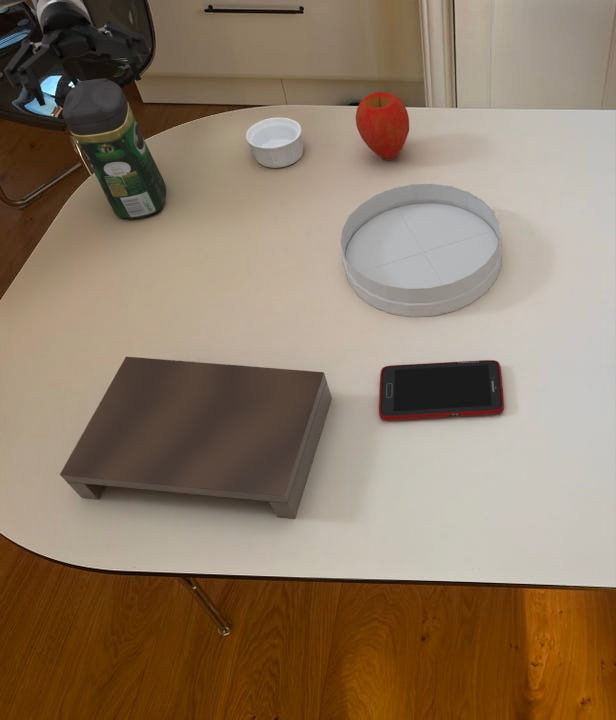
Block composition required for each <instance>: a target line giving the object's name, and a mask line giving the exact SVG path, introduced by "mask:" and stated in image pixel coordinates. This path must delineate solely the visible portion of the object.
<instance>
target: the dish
mask: <svg viewBox="0 0 616 720" xmlns="http://www.w3.org/2000/svg"><path fill="white" fill-rule="evenodd" d="M500 229H501V228H500V222H499V220H498V218H497V216H496V214H495V211H494V210H493V209H492V208H491V207H490V205H488V204H487V203H486V202H485V200H483V199H482V198H480V197H478V196H476V195H475V194H473V193H472V192H470V191H468V190H464V189H461V188H458V187H455V186H452V185H444V184H437V183H418V184H417V183H415V184H414V183H413V184H408V185H403V186H398V187H393V188H390V189H388V190H386V191H383V192H380V193H377V194H376V195H374V196H372V197H370V198H369V199H367V200H365V201H364V202H362V203H361V204H360V205H358V207H357V208H355V210H354V211H352V213H350V214H349V216H348V218H347V220H346V221H345V224H344V225H343V227H342V230H341V238H340V245H341V249H342V253H343V254H342V261H343V262H342V263H343V265H344V269H345V272H346V276H347V280H348V284H349V285H350V287H351V288H352V290H353V291H354V292H355V294H356V295H357V296H358V297H359V298H360V299H362V300H363V301H364V302H366V303H367V304H368V305H370V306H371V307H373V308H375V309H378V310H380V311H383V312H385V313H388V314H391V315H397V316H404V317H410V318H415V317H417V318H418V317H419V318H420V317H423V318H424V317H436V316H440V315H444V314H450V313H453V312H455V311H458V310H460V309H463V308H464V307H466V306H469V305H471V304H473V303H474V302H476V301H477V300H479V298H481V297H482V296H484V295H485V294H487V292H488V291H489V290H490V288H491V287H492V286H493V284H494V283H495V282H496V280H497V279H498V276H499V273H500V270H501V267H502V254H503V253H502V252H503V251H502V238H501V231H500Z"/></svg>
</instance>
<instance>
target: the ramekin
mask: <svg viewBox="0 0 616 720" xmlns="http://www.w3.org/2000/svg"><path fill="white" fill-rule="evenodd" d="M302 132H303V131H302V126H301V125H300V124H299V122H298V121H296V120H294V119H292V118H288V117H270V118H265V119H262V120H259V121H257V122H256V123H253V124H252V125H251V126H250V127H249V128H248V129H247V131H246V133H245V140H246V142H247V144H248V145H249V147H250V150H251V152H252V155H253V156H254V159H255V161H256V162H257V163H258V164H259V165H261V166H263V167H265V168H266V167H267V168H271V169H274V168H275V169H276V168H277V169H278V168H279V169H280V168H284V167H288V166H291V165H293V164H295V163H296V162H298V161H299V160H300V159H301V157H302V156H303V154H304V145H303V137H302V135H303V133H302Z"/></svg>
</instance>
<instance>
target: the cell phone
mask: <svg viewBox="0 0 616 720" xmlns="http://www.w3.org/2000/svg"><path fill="white" fill-rule="evenodd" d="M378 393H379V394H378V395H379V396H378V415H379V418H380V419H381V420H383V421H403V420H404V421H405V420H418V419H437V418H451V417H473V416H490V415H491V416H492V415H499V414H502V413H503V412H504V409H505V399H504V388H503V377H502V369H501V363H500V362H499V361H497V360H496V359H494V360H493V359H483V360H482V359H481V360H465V361H464V360H463V361H448V362H447V361H445V362H430V363H429V362H427V363H411V364H409V363H407V364H393V365H391V364H390V365H385V366H383V367H381V370H380V373H379V391H378Z"/></svg>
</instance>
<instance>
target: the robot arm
mask: <svg viewBox="0 0 616 720" xmlns="http://www.w3.org/2000/svg"><path fill="white" fill-rule="evenodd" d="M26 1H27V0H0V10H3V9H6V8H8V7H12V6H15V5H17V4H20V3H23V2H26ZM31 2H32V4H33V7H34V9H35V11H36V15H37V20H38V23H39V26H40V30H41V33H42V36H43V37H42V39H41V41H39V42H33V41H31V39H29V38H26V39H23V40H22V41H21V47H20V48H19V49H18V51H17V52H16V53H15V55H14V56H13V57H12V58H11V59H10V61H9V62H8V64H7V65H6V66H5V68H4V69H3V73H4V74H5V76H6V78H7V79H8V82H9V83H10V85H11V87H13V88H18V87H20V86H21V85H22V87H23V89H24V90H25V92H26V93H28V94H30V93H32V94H33V96H34V98H35V99H36V101H37V103H38V104H39V106H40V107H43V106H47V104H46V100H45V96H44V92H43V89H42V86H41V85H42V84H41V83H40V82H39V80H40V79H41V78H42V77H44V76H45V75H46V74H47V73H48V72H49V71H51V70H52V69H53V68H54V67H55V66H56V65H57V66H61V65H62V64H64V63H65V62H66V61H67V60H68V59H72V58H79V57H82V56H86V55H89V54H92V55H98V56H102V55H103V54H107V55H111V56H115V57H116V56H117V57H121V58H126V61H127V63H128V65H129V67H130V70H131V72H132V74H133V77H134V79H135V81H136V82H138V81H141V80H142V77H141V74H140V72H139V71H138V68H137V66H140V65H142V64H143V60H142V58H141V54H142V55H149V54H150V53H151V51H150V47H149V45H148V43H147V40H146V38H145V36H144V35H143V34H140V33H137V32H135V31H132V30H130V29H127V28H126V27H123V26H121V25H118V24H117V23H115V22H114V21H113V20H112V19H108V20H105V21H104V24H103V26H102V27H99V28H98V27H96V26H95V25H93V21H92V19H91V17H90V14H89V12H88V10H87V8H86V6H85V4H84V1H83V0H31Z"/></svg>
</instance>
